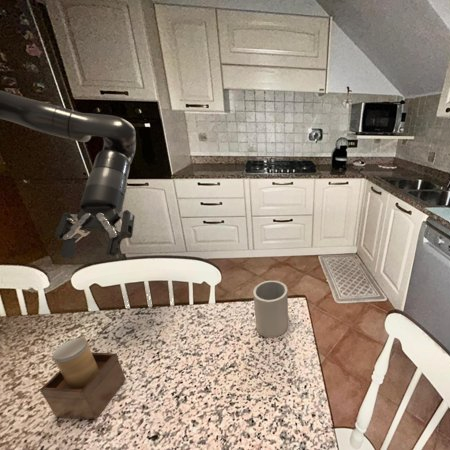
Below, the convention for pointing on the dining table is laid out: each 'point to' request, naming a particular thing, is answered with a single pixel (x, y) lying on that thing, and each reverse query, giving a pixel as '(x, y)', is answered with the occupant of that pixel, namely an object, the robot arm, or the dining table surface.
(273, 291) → the cup
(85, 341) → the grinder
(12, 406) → the dining table surface
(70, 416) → the box
